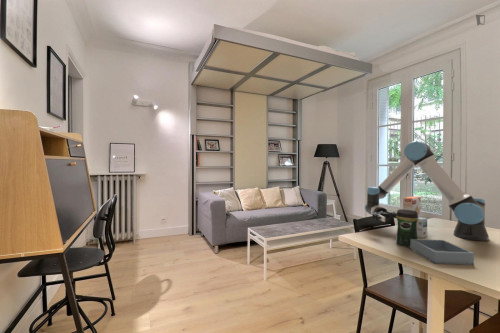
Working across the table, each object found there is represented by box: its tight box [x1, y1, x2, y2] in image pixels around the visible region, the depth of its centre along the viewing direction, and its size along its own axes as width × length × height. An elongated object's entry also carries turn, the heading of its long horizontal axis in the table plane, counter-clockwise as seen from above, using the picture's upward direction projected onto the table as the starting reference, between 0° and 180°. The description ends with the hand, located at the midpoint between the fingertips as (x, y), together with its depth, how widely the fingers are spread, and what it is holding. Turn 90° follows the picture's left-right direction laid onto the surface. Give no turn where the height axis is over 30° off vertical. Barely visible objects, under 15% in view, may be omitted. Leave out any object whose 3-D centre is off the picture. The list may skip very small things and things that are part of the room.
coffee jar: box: [395, 208, 419, 248], centre depth 125 cm, size 10×8×19 cm
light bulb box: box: [417, 216, 428, 238], centre depth 144 cm, size 11×7×11 cm, turn 34°
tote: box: [409, 238, 475, 266], centre depth 110 cm, size 16×18×5 cm
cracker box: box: [402, 195, 421, 217], centre depth 157 cm, size 14×6×21 cm, turn 127°
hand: (396, 219), depth 135 cm, fingers open, 13 cm apart
